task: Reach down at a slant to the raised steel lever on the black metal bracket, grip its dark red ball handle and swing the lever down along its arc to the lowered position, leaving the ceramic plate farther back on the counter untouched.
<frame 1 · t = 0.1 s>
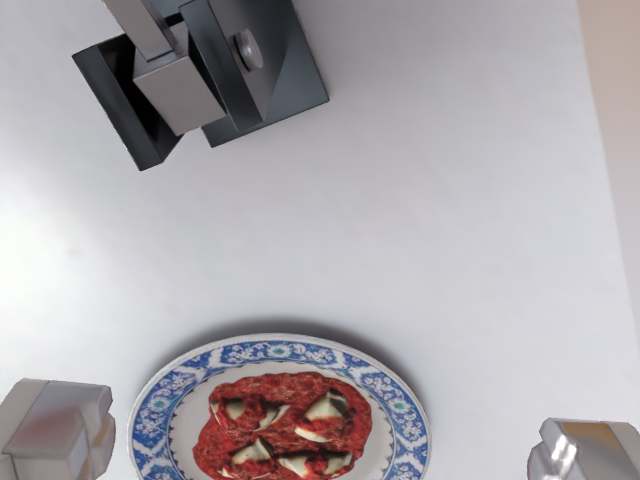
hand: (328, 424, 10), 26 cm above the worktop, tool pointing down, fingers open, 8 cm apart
ceramic plate: (281, 433, 47), on the worktop
bracket: (232, 34, 31), on the worktop
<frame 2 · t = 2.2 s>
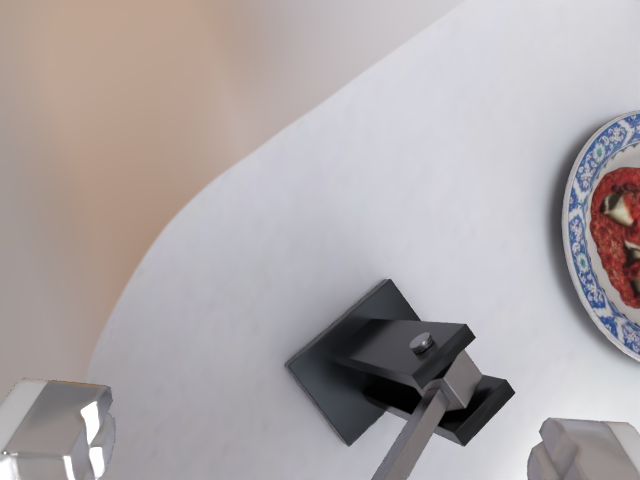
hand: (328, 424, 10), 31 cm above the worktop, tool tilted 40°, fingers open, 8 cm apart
lever: (408, 446, 27), point 15 cm above the worktop, hinge at 25.0°
bracket: (365, 358, 43), on the worktop
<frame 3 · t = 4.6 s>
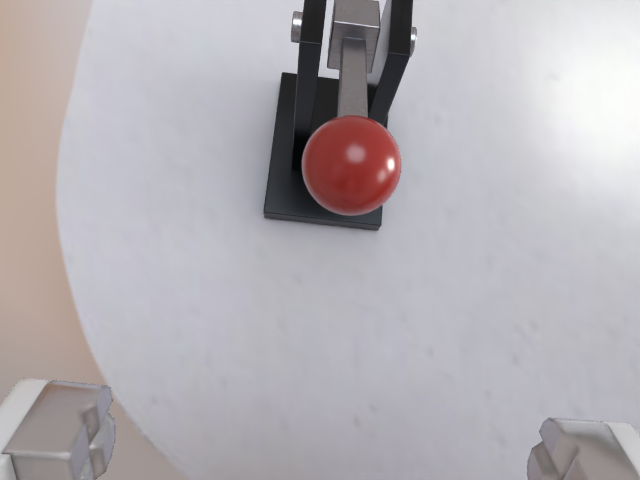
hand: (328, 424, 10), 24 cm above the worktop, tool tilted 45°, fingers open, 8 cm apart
lever: (352, 93, 22), point 15 cm above the worktop, hinge at 25.0°
bracket: (328, 153, 38), on the worktop
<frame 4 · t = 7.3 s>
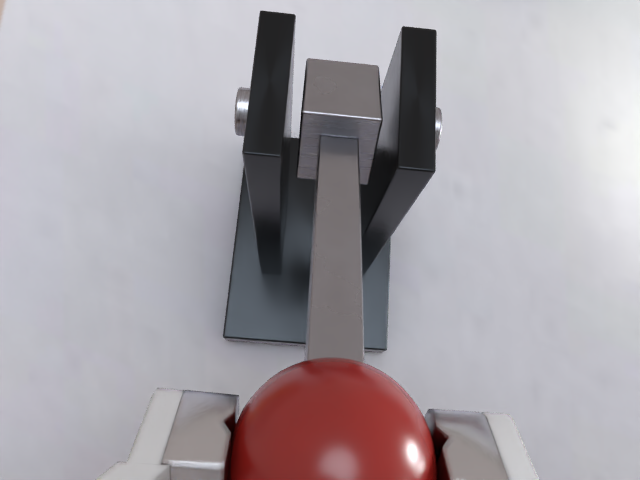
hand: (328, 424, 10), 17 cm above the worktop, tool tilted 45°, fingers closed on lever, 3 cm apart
lever: (335, 253, 12), point 15 cm above the worktop, hinge at 25.0°, touching gripper
bracket: (312, 242, 28), on the worktop
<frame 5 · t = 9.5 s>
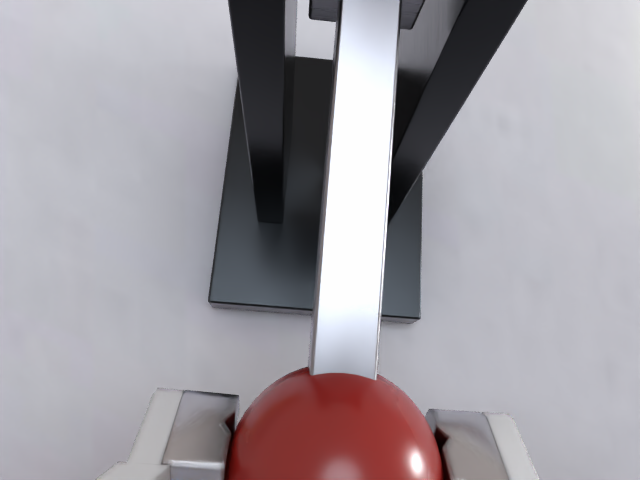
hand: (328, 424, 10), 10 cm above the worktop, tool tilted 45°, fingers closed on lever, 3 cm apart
lever: (354, 192, 9), point 12 cm above the worktop, hinge at -10.4°, touching gripper
bracket: (322, 187, 22), on the worktop
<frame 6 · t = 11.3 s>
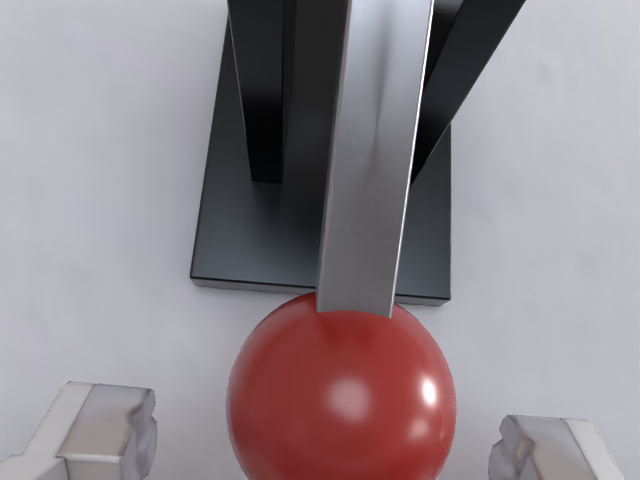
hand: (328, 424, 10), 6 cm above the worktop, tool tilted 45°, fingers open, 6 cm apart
lever: (376, 91, 7), point 10 cm above the worktop, hinge at -29.6°
bracket: (330, 143, 19), on the worktop
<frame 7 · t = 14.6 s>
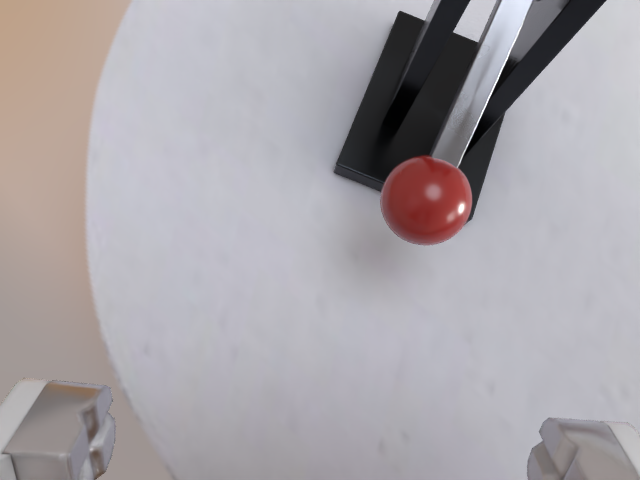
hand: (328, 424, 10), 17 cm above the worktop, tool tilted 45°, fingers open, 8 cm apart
lever: (477, 84, 20), point 10 cm above the worktop, hinge at -29.6°
bracket: (427, 119, 31), on the worktop
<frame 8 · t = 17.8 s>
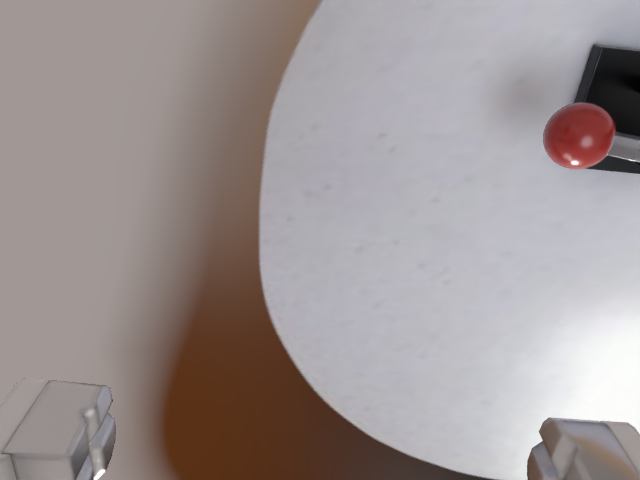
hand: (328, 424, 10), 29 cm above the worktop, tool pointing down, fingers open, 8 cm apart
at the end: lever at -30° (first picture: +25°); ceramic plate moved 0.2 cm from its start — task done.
